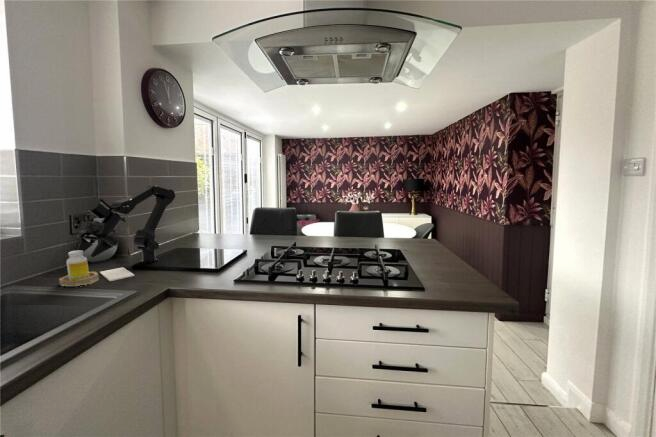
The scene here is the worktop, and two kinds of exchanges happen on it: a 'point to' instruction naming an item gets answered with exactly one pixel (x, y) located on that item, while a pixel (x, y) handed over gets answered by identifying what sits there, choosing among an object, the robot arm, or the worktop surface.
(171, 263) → the worktop surface
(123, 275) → the pad
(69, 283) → the ring holder
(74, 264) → the supplement bottle
